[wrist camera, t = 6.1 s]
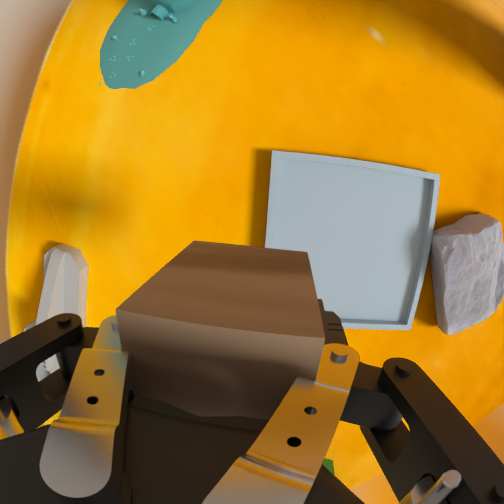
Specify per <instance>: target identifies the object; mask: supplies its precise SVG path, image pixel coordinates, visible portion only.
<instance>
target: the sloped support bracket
mask: <svg viewBox="0 0 504 504" xmlns="http://www.w3.org/2000/svg"><path fill="white" fill-rule="evenodd" d="M87 278H88V264H87V262H86V260H85V259H84V257H83V255H82V253H81V251H80V250H79V249H76V248H73V247H71V246H68V245H66V244H63V243H62V244H59V245H57V246H55V247H53V248H52V249H50V250H49V251H48V252H47V253H46V254H45V255H44V284H43V289H42V294H41V298H40V303H39V308H38V314H37V319H36V320H34V321H33V322H32V323H30V324H29V325H28V326H26V327H25V328H24V331H26V330H28V329H30V328H32V327H34V326H36V325H38V324H40V323H42V322H43V321H45V320H47V319H49V318H51V317H53V316H55V315H58V314H62V313H73V314H77V315H79V316H80V317H81V319H82V325H83V327H86V297H87ZM59 368H60V367H59V364H58V361H57V357H56V354H55V355H53V356H52V357H50V358H48V359H47V360H45V361H43V362H42V363H40V364H39V365H38V367H37V369H36V376H37V379H38V381H41V380H42V379H44V378H45V377H47V376H48V375H50V374H51V373H53V372H54V371H56V370H57V369H59Z"/></svg>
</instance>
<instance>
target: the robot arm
mask: <svg viewBox="0 0 504 504" xmlns="http://www.w3.org/2000/svg"><path fill="white" fill-rule="evenodd" d="M318 303H319V308H320V313H321V318H322V324H323V329H324V334H325V342H324V347H323V351H322V355H321V360H320V364H319V368H318V372H317V376H316V380H315V381H313V380H310V379H306V378H303V377H300V376H299V377H297V379H296V380H295V382H294V383H293V385H292V386H291V388H290V390H289V391H288V393H287V394H286V396H285V397H284V399H283V401H282V402H281V404H280V405H279V407H278V408H277V410H276V411H275V413H274V414H273V416H272V417H271V419H270V420H267V419H258V418H249V417H242V416H211V417H203V416H197V415H194V414H191V413H189V412H187V411H184V410H182V409H180V408H177V407H175V406H173V405H171V404H168V403H166V402H161V401H157V400H153V399H149V398H145V397H142V396H139V393H138V387H137V382H136V366H135V360H134V353H132V352H131V350H122V349H121V343H120V336H119V330H118V322H117V315H115V316H111V317H108V318H106V319H105V320H103V321H102V323H101V325H100V328H93V327H83V325H82V319H81V317H80V316H79V315H77V314H73V313H62V314H58V315H55V316H53V317H51V318H49V319H47V320H45V321H43V322H42V323H40V324H38V325H36V326H34V327H32V328H30V329H28V330H26V331H24V332H22V333H20V334H18V335H16V336H15V337H13V338H11V339H9V340H7V341H5V342H3V343H1V344H0V504H364V502H362V501H361V500H360V499H359V498H358V497H357V496H356V495H354V493H352V492H351V491H350V490H349V489H348V488H347V487H346V486H345V485H344V484H343V483H342V482H341V481H340V480H339V479H338V478H337V477H336V476H334V475H333V474H332V473H331V472H330V471H329V470H328V469H327V468H326V467H325V466H324V465H323V464H322V463H323V460H324V458H325V456H326V453H327V451H328V448H329V446H330V443H331V441H332V438H333V436H334V433H335V431H336V428H337V426H338V423H339V420H341V421H345V422H348V423H352V424H357V425H360V429H361V431H362V433H363V435H364V437H365V439H366V441H367V443H368V444H369V446H370V448H371V450H372V452H373V454H374V456H375V458H376V459H377V461H378V463H379V465H380V467H381V469H382V471H383V473H384V475H385V476H386V478H387V480H388V482H389V484H390V486H391V488H392V490H393V491H394V493H395V495H396V497H397V499H398V501H399V504H504V464H503V463H502V462H501V461H500V459H499V458H498V457H497V456H496V454H495V453H494V452H493V451H492V449H491V448H490V447H489V446H488V445H487V444H486V442H485V441H484V440H483V439H482V437H481V436H480V435H479V434H478V433H477V431H476V430H475V429H474V428H473V427H472V426H471V424H470V423H469V422H468V421H467V420H466V419H465V417H464V416H463V415H462V414H461V413H460V412H459V411H458V409H457V408H456V407H455V406H454V405H453V404H452V402H451V401H450V400H449V399H448V398H447V397H446V396H445V395H444V393H443V392H442V391H441V390H440V389H439V388H438V387H437V386H436V384H435V383H434V382H433V381H432V380H431V379H430V378H429V377H428V376H427V375H426V373H425V372H424V371H423V370H422V369H421V368H420V367H419V366H418V365H417V364H416V363H414V362H413V361H410V360H408V359H405V358H390V359H388V360H386V361H385V362H384V364H383V367H382V368H379V367H375V366H370V365H367V364H364V363H362V362H360V361H359V360H360V356H359V354H358V352H357V351H356V350H354V349H353V348H351V347H349V346H348V343H347V339H346V336H345V333H344V329H343V326H342V323H341V320H340V317H339V316H338V315H336V314H335V313H334V312H333V311H325V309H324V305H323V301H322V299H318ZM55 354H56V357H57V361H58V364H59V367H60V368H59V369H57V370H56V371H54V372H53V373H51V374H50V375H48V376H47V377H45V378H44V379H42V380H41V381H38V379H37V376H36V369H37V367H38V365H39V364H40V363H42V362H43V361H45V360H47V359H48V358H50V357H52V356H53V355H55ZM61 409H62V410H61ZM60 410H61V414H60V417H59V418H58V419H57V420H54V421H53V422H52V423H51V424H49V425H46V426H43V427H40V428H37V427H39V426H40V425H41V424H43V423H44V422H45V421H47V420H48V419H49V418H51V417H52V416H53V415H54V414H56V413H57V412H58V411H60ZM402 417H403V418H404V419H405V421H406V422H407V424H408V425H409V428H410V432H409V430H408V429H407V427H406V426H405V424H404V423H403V422H402V420H401V419H402ZM36 428H37V429H36Z"/></svg>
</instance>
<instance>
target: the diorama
mask: <svg viewBox="0 0 504 504" xmlns="http://www.w3.org/2000/svg"><path fill="white" fill-rule="evenodd" d="M221 3H222V0H129V1H128V2H127V3H126V4H125V6H124V7H123V8H122V10H121V11H120V13H119V14H118V15H117V17H116V18H115V20H114V21H113V23H112V25H111V26H110V28H109V30H108V32H107V34H106V36H105V39H104V42H103V44H102V47H101V50H100V68H101V72H102V75H103V78H104V82H105V84H106V85H107V86H108V87H109V88H112V89H119V88H132V89H135V88H137V87H139V86H141V85H143V84H145V83H148V82H150V81H153V80H154V79H155V78H156V77H157V76H159V75H160V74H161V73H162V72H163V71H165V70H166V69H167V68H168V67H170V66H171V65H172V64H173V63H175V62H176V61H177V60H178V59H179V57H180V56H181V55H182V54H183V52H184V51H185V50H186V49H187V48H188V47H189V46H190V44H191V43H192V42H193V41H194V39H195V38H196V36H197V34H198V32H199V30H200V29H201V27H202V25H203V23H204V22H205V21H206V20H207V19H208V18H209V17H210V16H211V15H212V14H213V13H214V12H215V10H216V9H217V8H218V7H219V5H220V4H221ZM99 85H101V83H99Z"/></svg>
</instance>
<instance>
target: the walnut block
mask: <svg viewBox="0 0 504 504" xmlns="http://www.w3.org/2000/svg"><path fill="white" fill-rule="evenodd" d="M116 315H117V322H118V330H119V336H120V343H121V349H122V350H131V352H132V353H134V360H135V366H136V382H137V387H138V393H139V396H142V397H145V398H149V399H153V400H157V401H161V402H166V403H168V404H171V405H173V406H175V407H177V408H180V409H182V410H184V411H187V412H189V413H191V414H194V415H197V416H203V417H211V416H242V417H249V418H258V419H267V420H270V419H271V417H272V416H273V414H274V413H275V411H276V410H277V408H278V407H279V405H280V404H281V402H282V401H283V399H284V397H285V396H286V394H287V393H288V391H289V390H290V388H291V386H292V385H293V383H294V382H295V380H296V379H297V377H299V376H300V377H303V378H306V379H310V380H313V381H315V380H316V376H317V372H318V368H319V364H320V360H321V355H322V351H323V347H324V342H325V334H324V329H323V324H322V318H321V313H320V308H319V303H318V299H317V294H316V289H315V284H314V280H313V275H312V270H311V266H310V261H309V257H308V252H303V251H293V250H283V249H274V248H264V247H254V246H244V245H234V244H224V243H214V242H204V241H193V242H192V243H191V244H190V245H188V246H187V247H186V248H185V249H184V250H183V251H181V252H180V253H179V254H178V255H177V256H176V257H174V258H173V259H172V260H171V261H170V262H169V263H167V264H166V265H165V266H164V267H163V268H162V269H160V270H159V271H158V272H157V273H156V274H155V275H154V276H152V277H151V278H150V279H149V280H148V281H147V282H146V283H144V284H143V285H142V286H141V287H140V288H139V289H138V290H137V291H135V292H134V293H133V294H132V295H131V296H130V297H129V298H128V299H127V300H125V301H124V302H123V303H122V304H121V305H120V306H119V307H118V308H117V309H116Z"/></svg>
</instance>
